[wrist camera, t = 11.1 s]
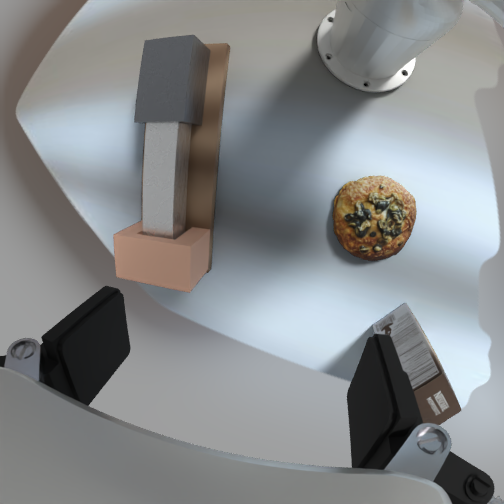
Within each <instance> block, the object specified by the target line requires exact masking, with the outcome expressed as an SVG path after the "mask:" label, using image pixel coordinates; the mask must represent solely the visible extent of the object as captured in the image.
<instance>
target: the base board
mask: <svg viewBox="0 0 504 504" xmlns="http://www.w3.org/2000/svg"><path fill="white" fill-rule="evenodd" d="M204 45H205V46H206V47H207V48H209V49H210V50H211V52H210V60H209V68H208V76H207V84H206V93H205V102H204V112H203V123H202V125H192V126H191V138H190V150H189V165H188V181H187V199H186V224H185V232H186V231H188V230H189V229H191V228H192V227H195V228H203V229H210V242H209V263H208V270H207V271H206V272H207V273H208V272H209V271H210V270H211V264H212V245H213V228H214V212H215V197H216V184H217V171H218V159H219V147H220V136H221V125H222V115H223V105H224V96H225V86H226V78H227V69H228V61H229V52H230V46H229V45H228V44H227V43H222V44H204ZM145 133H146V123H145ZM144 148H145V134H144ZM143 167H144V150H143ZM142 221H143V170H142Z"/></svg>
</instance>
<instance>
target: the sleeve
mask: <svg viewBox="0 0 504 504" xmlns="http://www.w3.org/2000/svg"><path fill="white" fill-rule="evenodd" d="M210 52H211V50H210V49H209V48H207V47H206V46H205V45H204V44H203V43H202V42H201V41H200V40H199V39H198V38H197V37H196V36H195V35H187V36H177V37H168V38H160V39H153V40H146V41H145V43H144V49H143V55H142V61H141V68H140V75H139V83H138V91H137V100H136V110H135V121H134V122H136V123H146V122H184V123H189V124H192V125H202V123H203V112H204V102H205V93H206V84H207V76H208V68H209V60H210Z"/></svg>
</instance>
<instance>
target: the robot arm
mask: <svg viewBox="0 0 504 504" xmlns="http://www.w3.org/2000/svg"><path fill="white" fill-rule="evenodd" d="M469 1H471V2H472V3H473V4H475V5H477V6H479V7H480V8H481V9H482V10H484V11H485V12H486V13H487V14H488V15H490V16H491V17H492V18H493V19H494V20H495V21H497V22H498V23H499V24H500V25H501V26H502V27H503V28H504V0H469ZM463 5H464V0H338V2H337V7H336V9H335V10H333V11H332V12H330V13H329V14H328V15H327V16H326V17H325V18H324V19H323V21H322V22H321V24H320V26H319V29H318V34H317V46H318V51H319V54H320V56H321V59H322V61H323V62H324V64H325V66H326V67H327V68H328V69H329V70H330V72H331V73H332V74H333V75H334V76H336V77H337V78H338V79H339V80H340V81H342V82H344V83H345V84H347V85H348V86H351V87H353V88H356V89H358V90H362V91H366V92H375V93H378V92H386V91H390V90H393V89H395V88H397V87H399V86H401V85H402V84H403V83H405V82H406V81H407V80H408V79H409V78H410V76H411V74H412V72H413V70H414V67H415V63H416V57H417V56H418V55H419V54H420V53H422V52H423V51H424V50H425V49H427V48H428V47H429V46H431V45H432V44H433V43H434V42H436V41H437V40H438V39H440V38H441V37H442V36H443V35H445V34H446V33H447V32H448V31H450V30H451V29H452V28H453V27H454V26H455V25H456V24H457V22H458V21H459V19H460V17H461V14H462V10H463ZM329 21H332V22H329ZM327 57H329V58H330V60H328V59H326V58H327ZM402 73H404V75H402ZM364 84H367V87H365V86H364ZM42 341H43V343H42V344H41V345H40V344H39V343H38V341H37V340H35V339H32V338H23V339H19V340H17V341H15V342H13V343H12V344H11V345H10V346H9V348H8V350H7V355H5V356H0V504H504V501H503V500H502V499H501V498H500V496H497V497H496V498H495V497H494V496H493V494H494V484H493V481H492V479H491V478H490V476H489V475H487V474H486V473H485V472H483V471H481V470H480V469H478V468H476V467H475V466H473V465H471V464H470V463H468V462H467V461H465V460H463V459H462V458H460V457H458V456H457V455H455V454H454V453H452V452H451V451H450V449H451V445H452V443H451V438H450V436H449V434H448V433H447V431H446V430H445V429H444V428H442V427H441V426H439V425H436V424H432V423H423V420H422V417H421V413H420V410H419V407H418V404H417V401H416V398H415V394H414V391H413V388H412V386H411V383H410V380H409V377H408V374H407V372H405V371H403V368H402V365H401V362H400V359H399V357H398V354H397V351H396V348H395V346H394V343H393V340H392V338H391V336H390V335H386V334H374V336H373V337H369V338H368V340H367V343H366V346H365V348H364V351H363V354H362V356H361V359H360V362H359V364H358V367H357V370H356V372H355V375H354V377H353V380H352V382H351V384H350V387H349V389H348V393H347V403H348V415H349V427H350V441H351V457H352V468H342V467H326V466H314V465H304V464H295V463H286V462H279V461H271V460H265V459H258V458H253V457H247V456H242V455H237V454H232V453H228V452H223V451H218V450H214V449H210V448H206V447H202V446H198V445H194V444H190V443H187V442H184V441H180V440H176V439H173V438H170V437H167V436H164V435H161V434H158V433H155V432H152V431H149V430H146V429H143V428H140V427H138V426H135V425H132V424H130V423H127V422H124V421H122V420H119V419H117V418H115V417H112V416H110V415H107V414H105V413H103V412H100V411H98V410H96V409H94V408H91V407H89V404H90V403H91V402H92V400H93V399H94V398H95V397H96V395H97V394H98V393H99V391H100V390H101V389H102V387H103V386H104V385H105V384H106V383H107V381H108V380H109V379H110V378H111V376H112V375H113V374H114V372H115V371H116V370H117V369H118V367H119V366H120V365H121V364H122V362H123V361H124V360H125V359H126V357H127V356H128V355H129V353H130V342H129V335H128V329H127V322H126V314H125V306H124V297H123V294H122V293H120V290H119V289H117V288H113V287H109V286H105V287H103V288H102V289H101V290H99V291H98V292H96V293H95V294H94V295H93V296H92V297H90V298H89V299H87V300H86V301H85V302H84V303H82V304H81V305H80V306H79V307H77V308H76V309H75V310H74V311H72V312H71V313H70V314H69V315H67V316H66V317H65V318H64V319H62V320H61V321H60V322H59V323H58V324H56V325H55V326H54V327H53V328H52V329H50V330H49V331H48V332H47V333H45V334H44V335H43V336H42Z"/></svg>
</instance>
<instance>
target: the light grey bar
mask: <svg viewBox="0 0 504 504" xmlns="http://www.w3.org/2000/svg"><path fill="white" fill-rule="evenodd" d="M191 126H192V124H189V123H184V122H146V133H145V148H144V167H143V235H147V236H154V237H161V238H167V239H174V240H176V239H177V238H178V237H180V236H181V235H182V234H184V233H185V224H186V199H187V181H188V165H189V150H190V138H191Z"/></svg>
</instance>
